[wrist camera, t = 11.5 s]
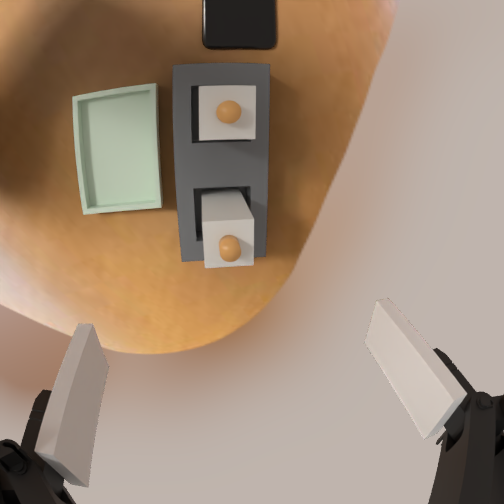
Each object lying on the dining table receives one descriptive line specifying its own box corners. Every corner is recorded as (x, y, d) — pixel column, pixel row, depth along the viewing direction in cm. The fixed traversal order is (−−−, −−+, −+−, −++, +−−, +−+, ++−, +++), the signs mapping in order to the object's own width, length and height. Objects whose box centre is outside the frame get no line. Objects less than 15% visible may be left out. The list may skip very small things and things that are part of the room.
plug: (203, 225, 34) (205, 277, 23) (201, 190, 32) (202, 228, 22) (239, 223, 34) (256, 274, 24) (238, 188, 32) (257, 225, 22)
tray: (88, 209, 31) (83, 214, 30) (78, 97, 26) (72, 96, 24) (163, 203, 33) (161, 207, 31) (158, 84, 27) (155, 83, 25)
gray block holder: (183, 246, 35) (177, 309, 24) (176, 71, 27) (161, 45, 16) (259, 241, 37) (285, 301, 26) (262, 69, 28) (296, 46, 17)
